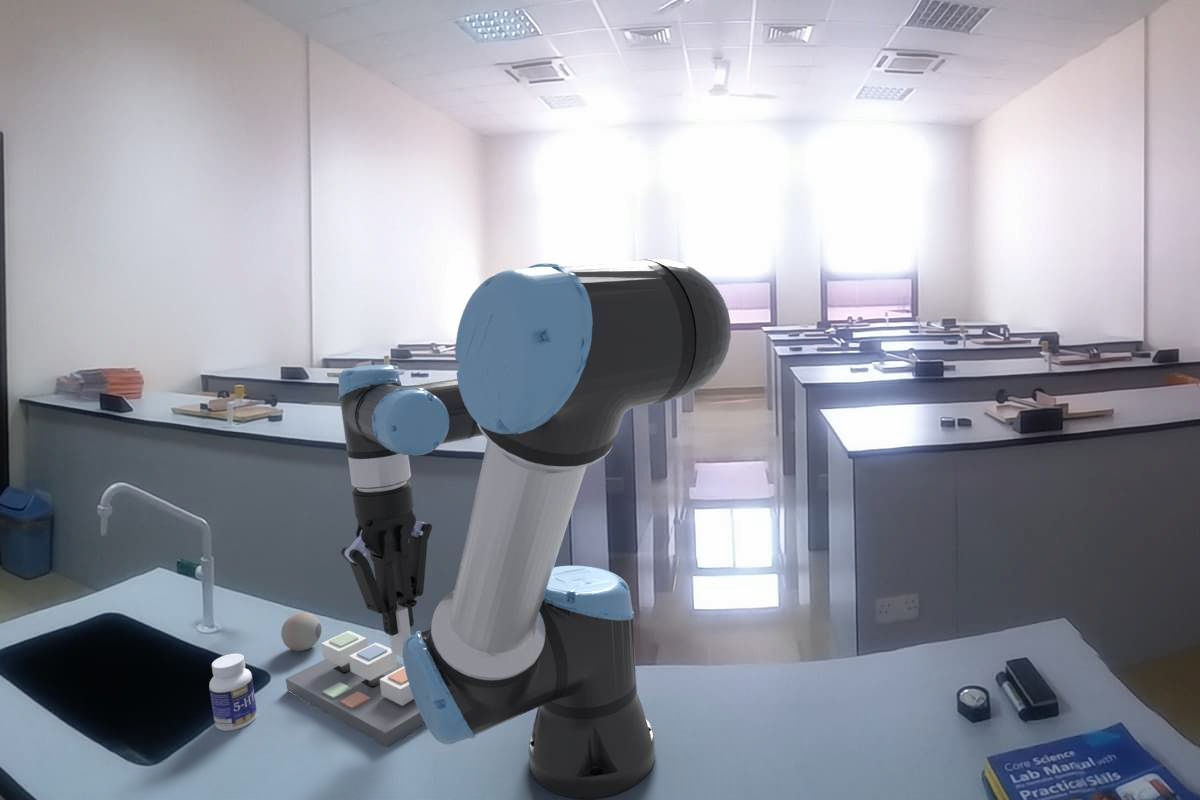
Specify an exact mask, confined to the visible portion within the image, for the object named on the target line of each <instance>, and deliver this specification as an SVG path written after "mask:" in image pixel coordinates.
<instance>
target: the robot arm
mask: <svg viewBox="0 0 1200 800" xmlns="http://www.w3.org/2000/svg"><path fill="white" fill-rule="evenodd" d="M459 320H460V321H459V324H458V327H457V328H458V329H457V332H456V338H455V339H456V340H455V350H454V351H455V352H454V353H455V354H454V356H455V357H454V358H455V361H457V362H458V370H457V371H456V378H455V379H448V380H442V381H441V380H440V381H434V382H427V383H419V384H415V385H407V386H405V385H404V386H402V382H401V379H400V374H399V370H398V368H397V367H396V366H394V365H392V364H370V365H361V366H356V367H349V368H346V369H344V370H342V371H341V372H340V373H339V375H338V392H339V393H338V401H339V402H340V408H341V409H340V410H341V416H342V422H343V423H342V424H343V425H342V426H343V430H344V431H343V432H344V438H345V439H344V440H345V445H346V452H347V453H346V454H347V459H348V466H349V475H350V481H351V482H350V484H351V486H352V487H354V489H353V491H352V493H351V494H352V500H353V501H352V502H353V507H354V508H353V510H354V515H355V517H356V520H357V529H356V531H355V536H356V538H355V540H354V541H353V542H352V544H351V545H350V546H349V547H348V546H345V547H343V548H342V549H341V553H340V555H341V556H342V557H343V558H344V559H345V560H346V561H347V562H348V563H349V564H350V567H351V569H352V573H353V575H354V578H355V581H356V582H357V585H358V588H359V591H360V593H361V596H362V598H363V601H364V605H365V606H366V608H367V609H368V610H369V611H371V612H375V613H377V614H380V615H382V623H383V624H382V625H383V632H384V633H385V635H388V636H389V642H390V649H391V651H392V653H393V654H396V656H399V657H401V658H403V659H402V660H403V665H404V667H405V671H406V675H407V679H408V682H409V686H410V689H411V692H412V695H413V697H414V700H415V703H416V705H417V708H418V710H419V712H420V714H421V717H422V719H423V721H424V723H425V724H424V725H425V726H426V728H427V730H428V731H429V733H430V734H431V736H432V737H433V738H434V739H435V740H436V741H437V742H439V743H440V744H444V745H453V744H456V743H459V742H461V741H464V740H467V739H474V738H476V737H477V735H479V734H482V733H484V732H486V731H488V730H490V729H493V728H495V727H497V726H499V725H502V724H503V723H506V722H508V721H510V720H513V719H515V718H517V717H520V716H522V715H524V714H526V713H528V712H530V711H533V710H535V709H537V710H536V714H535V719H534V722H533V726H532V732H531V734H530V737H529V743H528V756H529V758H528V759H529V766H530V770H531V773H532V775H533V777H534V779H536V781H537V782H538V783H539V784H540V785H541V786H542V787H544V788H545V789H547V790H549V791H551V792H553V793H555V794H558V795H561V796H564V797H571V798H575V799H576V798H577V799H596V798H604V797H608V796H612V795H616V794H619V793H621V792H624V791H627V790H629V789H631V788H632V787H634V786H635V785H637V784H639V782H641V781H642V780H643V779H645V777H646V776H647V775H648V774H649V773H650V771H651V769H652V767H653V766H654V763H655V761H656V760H655V759H656V748H655V744H656V743H655V735H654V732H653V731H654V730H653V729H652V725H651V723H650V722H649V720H647V718H646V715H645V711H644V707H643V705H642V703H641V700H640V697H639V694H638V689H637V673H636V672H637V671H636V657H635V653H636V652H635V639H634V637H635V635H634V620H633V619H634V617H635V611H634V610H633V604H632V598H631V597H632V596H631V591H630V587H629V585H628V583H627V582H626V581H625V579H623V578H622V577H621V576H619V575H618V574H616V573H614V572H612V571H609V570H606V569H603V568H599V567H595V566H587V565H559V566H555V564H556V561H557V557H558V555H559V552H560V550H561V549H560V548H561V547H562V543H563V540H564V537H565V533H566V530H567V528H568V524H569V522H570V518H571V516H572V512H573V509H574V506H575V503H576V500H577V497H578V494H579V490H580V488H581V485H582V481H583V478H584V475H585V472H586V469H587V467H589V466H592V465H594V464H596V463H597V462H599V461H601V460H603V458H605V457H606V456H607V455H608V454H609V453H610V452H611V450H612V448H613V446H614V443H615V441H616V437H617V436H618V432H619V429H620V427H621V424H622V421H623V418H624V415H625V414H626V413H627V412H628V411H630V409H631V410H632V409H636V408H641V407H644V406H650V405H653V404H654V405H655V404H660V403H663V402H667V401H673V400H676V399H679V398H682V397H684V396H688V395H689V394H692V393H694V392H695V391H698V390H699V389H701V388H702V387H704V386H705V385H706V384H707V383H708V382H710V380H712V379H713V377H715V375H716V374H717V373H718V371H719V370H720V368H721V367H722V365H723V364H724V361H725V359H726V356H727V354H728V352H729V348H730V343H731V338H732V336H731V335H732V334H731V333H732V329H731V328H732V325H731V324H732V323H731V319H730V313H729V310H728V308H727V303H726V302H725V300H724V298H723V296H722V294H721V293H720V291H719V289H718V288H717V287H716V286H715V284H714V283H713V282H712V281H711V280H710V279H709V278H707V277H706V276H705V275H704V274H702V273H701V272H700V271H698V270H696V269H695V268H693V267H691V266H688V265H686V264H684V263H682V262H677V261H673V260H669V259H665V258H664V259H663V258H662V259H661V258H658V259H657V258H651V259H650V258H649V259H648V258H646V259H639V260H625V261H612V262H598V263H584V264H568V265H561V264H557V263H545V262H543V263H537V264H534V265H530V266H528V267H525V268H516V269H510V270H504V271H501V272H499V273H496V274H495V275H493V276H490V277H489V278H487V279H485V280H484V281H483V282H481V284H479V286H478V287H477V288H476V289H475V290H474V292H473V293H472V294H471V295H470V298H469V299H468V301H467V303H466V304H465V307H464V310H463V312H462V314H461V318H460V319H459ZM482 436H484V437H485V439H486V441H487V442H486V447H485V449H484V454H483V459H482V462H481V469H480V473H479V477H478V481H477V487H476V491H475V495H474V500H473V504H472V509H471V513H470V517H469V522H468V526H467V531H466V535H465V540H464V545H463V550H462V553H461V557H460V558H461V559H460V562H459V566H458V567H459V568H458V572H457V576H456V580H455V586H454V589H453V590H452V591H450V592H449V593H447V594H446V595H445V596H444V598H442V599H441V600H440V601H439V603H438V605H436V608H435V610H434V612H433V616H432V619H431V624H430V628H429V629H426V630H424V631H421V630H418V631H416V632H415V634H412V635H411V633H412V632H411V628H412V627H413V626H414V614H413V612H414V611H413V608H414V607H416V605H417V602H418V600H415V599H416V598H417V597H421V596H422V595H423V593H424V589H425V588H424V587H425V574H426V565H427V562H426V561H427V550H428V541H429V537H430V535H431V532H432V530H433V526H432V523H429V522H423V521H420V520H417V517H416V514H415V513H414V512H413V509H414V506H415V501H414V500H415V499H414V494H413V485H412V482H410V481H409V480H410V478H411V476H412V473H411V467H410V466H411V465H410V458H409V456H417V457H418V456H423V455H427V454H429V453H431V452H433V451H434V450H436V449H437V448H438V447H439V446H440V445H442V444H447V443H453V442H458V441H464V440H467V439H471V438H477V437H482ZM365 548H366V549H367V551H369V554H370V555H369V556H370V560H371V562H372V563H373V568H372V567H371V565H370V562H369V561H368V558H366V557H367V556H368V553H367V552H366V549H365ZM372 569H374V570H372ZM373 571H374V573H373Z"/></svg>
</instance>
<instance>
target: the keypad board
mask: <svg viewBox="0 0 1200 800" xmlns="http://www.w3.org/2000/svg"><path fill="white" fill-rule="evenodd" d="M403 666H404V663H403V664H402V663H400V662H398V661H397V667H395V668H393V669H391V670H389V671H388V672H386V673H384V674H382V677H385V676H387V675H388V674H390V673H392V672H394V671H396V670H398V669H400V668H402V667H403ZM285 682H286V691H287V690H288V691H290V692H292V693H293V694H295V695H297V696H298V697H297V696H296V697H297V698H299V697H300V698H302V699H303V700H302V699H301V700H302V701H304V700H305V701H304V702H306V701H307V702H306V703H308V702H309V703H310V704H309V703H308V704H309V705H311V704H312V706H313V707H315V708H317V709H318V710H320V711H322V712H323V713H325V714H327V715H329V716H331V717H333V718H334V719H336V720H338V721H340V722H342V723H344V724H345V725H347V726H349V727H350V728H352V729H354V730H356V731H357V732H360V733H361V734H363V735H364V736H366V737H368V738H369V739H371V740H373V741H375V742H377V743H379V744H381V745H382V746H384V747H385V748H389V747H390V746H392V745H393V744H395V743H396V742H398V741H399V740H401V739H403V738H404V737H406V736H408V735H410V734H412V733H414V731H416V730H418V729H420V728H421V727H422V726H424V725H425V723H424V721H423V719H422V717H421V714H420V712H419V710H418V708H417V705H416V703H415V700H414V699H413V700H412V701H410V702H408V703H406V704H405V705H403V706H402V705H400V704H398V703H396V702H394V701H392V700H390V699H388V698H386V697H384V696H382V695H381V687H380V684H379V685H375V686H371V685H369V684H368V680H367V679H365V678H363V677H361V676H359V675H357V674H355V673H353V672H351V671H347V672H343V671H341V670H340V666H338V665H336V664H334V663H332V662H330V661H328V660H326V659H323V660H321V661H319V662H317V663H316V664H313V665H310V666H309V667H307V668H305V669H302V670H301V671H299V672H296V673H294V674H292V675H290V676H287V677H286V678H285ZM288 691H287V692H288ZM290 692H289V693H290ZM292 693H291V694H292ZM293 694H292V695H293ZM295 695H294V696H295ZM300 698H299V699H300Z"/></svg>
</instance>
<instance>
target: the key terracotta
mask: <svg viewBox="0 0 1200 800" xmlns="http://www.w3.org/2000/svg"><path fill="white" fill-rule="evenodd" d="M380 687H381V695H382V696H384V697H386V698H388V699H390V700H392V701H394V702H396V703H398V704H400V705H402V706H403V705H405V704H406V703H408V702H410V701H412V700H413V699H414V697H413V695H412V692H411V689H410V686H409V682H408V679H407V675H406V671H405V667H404V666H403V667H402V668H400V669H398V670H396V671H394V672H392V673H390V674H388V675H387V676H385V677H383V678H381V679H380Z"/></svg>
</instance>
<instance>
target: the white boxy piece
mask: <svg viewBox="0 0 1200 800" xmlns="http://www.w3.org/2000/svg"><path fill="white" fill-rule="evenodd" d="M367 646H368V647H366V648H364V649H362V650H360V651H358V652H356V653H354V654H352V655H350V656H349V662H350V670H351V672H353V673H355V674H357V675H359V676H361V677H363V678H365V679H367V680H368V684H369V685H371V686H375V685H379V684H380V679H381V678H383V677H382V674H384V673H386V672H388V671H389V670H391V669H393V668H395V667H397V662H398V661H397V660H398V658H397V655H396V654H393V653H392V651H391V647H388V646H385V645H383V644H381V643H378V642H374V643H373V644H370V645H367Z"/></svg>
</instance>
